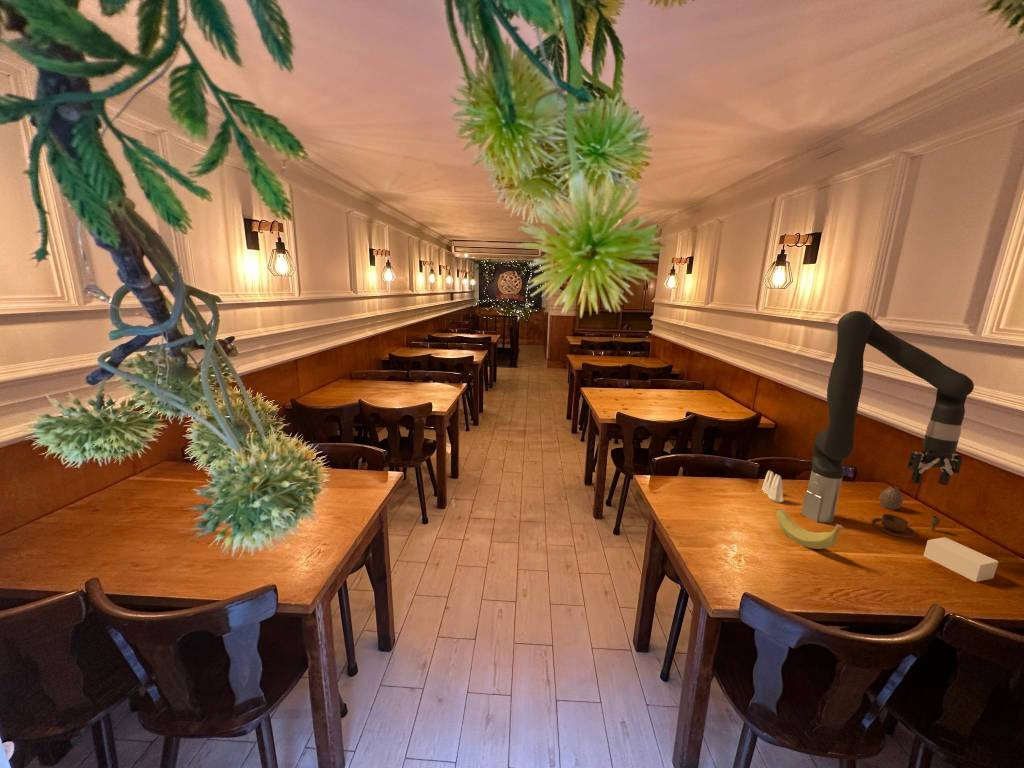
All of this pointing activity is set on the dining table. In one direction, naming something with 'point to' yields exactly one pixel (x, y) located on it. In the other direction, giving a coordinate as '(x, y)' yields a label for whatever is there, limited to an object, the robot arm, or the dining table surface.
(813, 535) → the banana
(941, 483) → the robot arm
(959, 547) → the block
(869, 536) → the dining table surface
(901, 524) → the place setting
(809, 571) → the dining table surface
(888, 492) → the grey rounded lump
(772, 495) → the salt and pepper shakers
